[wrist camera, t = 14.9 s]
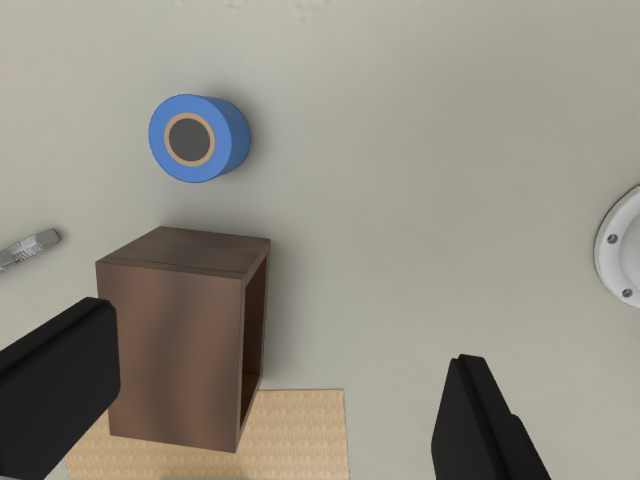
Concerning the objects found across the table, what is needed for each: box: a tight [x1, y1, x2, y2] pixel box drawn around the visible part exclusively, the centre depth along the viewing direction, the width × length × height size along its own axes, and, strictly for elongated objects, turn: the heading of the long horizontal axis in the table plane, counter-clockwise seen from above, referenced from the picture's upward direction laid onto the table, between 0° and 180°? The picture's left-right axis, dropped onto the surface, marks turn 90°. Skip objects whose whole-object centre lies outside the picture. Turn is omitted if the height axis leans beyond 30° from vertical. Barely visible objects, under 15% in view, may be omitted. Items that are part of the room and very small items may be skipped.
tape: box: [149, 94, 250, 183], centre depth 33 cm, size 7×7×6 cm
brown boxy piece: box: [95, 227, 270, 454], centre depth 36 cm, size 11×16×10 cm
